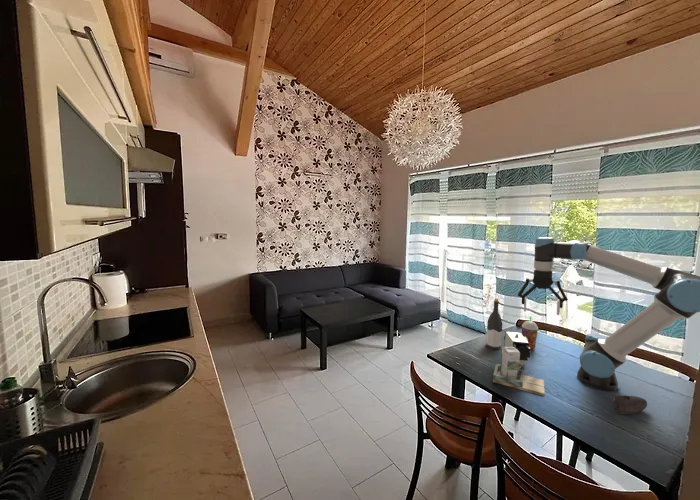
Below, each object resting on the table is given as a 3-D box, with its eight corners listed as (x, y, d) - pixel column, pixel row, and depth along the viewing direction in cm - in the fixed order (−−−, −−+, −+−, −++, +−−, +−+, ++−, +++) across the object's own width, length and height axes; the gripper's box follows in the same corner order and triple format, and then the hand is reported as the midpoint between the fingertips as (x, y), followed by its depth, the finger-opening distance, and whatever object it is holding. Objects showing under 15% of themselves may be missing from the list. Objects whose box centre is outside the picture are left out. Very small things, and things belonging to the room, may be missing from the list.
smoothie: (516, 346, 181) (519, 314, 178) (527, 344, 183) (530, 313, 180) (528, 352, 173) (531, 319, 170) (539, 350, 175) (542, 318, 173)
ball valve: (531, 375, 149) (534, 341, 147) (512, 373, 151) (515, 340, 149) (518, 358, 167) (521, 327, 164) (502, 356, 168) (504, 326, 166)
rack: (543, 382, 143) (544, 375, 143) (544, 396, 133) (545, 388, 132) (495, 370, 154) (496, 363, 154) (492, 381, 144) (493, 374, 143)
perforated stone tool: (639, 406, 126) (641, 391, 125) (652, 415, 121) (655, 399, 120) (607, 409, 124) (609, 393, 123) (619, 417, 119) (621, 401, 118)
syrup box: (511, 373, 148) (513, 346, 146) (518, 380, 143) (520, 351, 141) (499, 373, 148) (501, 346, 146) (506, 380, 143) (508, 351, 141)
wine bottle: (501, 345, 182) (504, 298, 178) (499, 350, 175) (503, 301, 171) (487, 342, 186) (490, 296, 182) (485, 347, 180) (488, 299, 175)
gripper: (573, 269, 140) (571, 313, 142) (513, 266, 152) (512, 307, 154) (576, 272, 133) (574, 318, 136) (513, 269, 145) (511, 311, 148)
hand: (541, 312), depth 145 cm, fingers open, 13 cm apart
